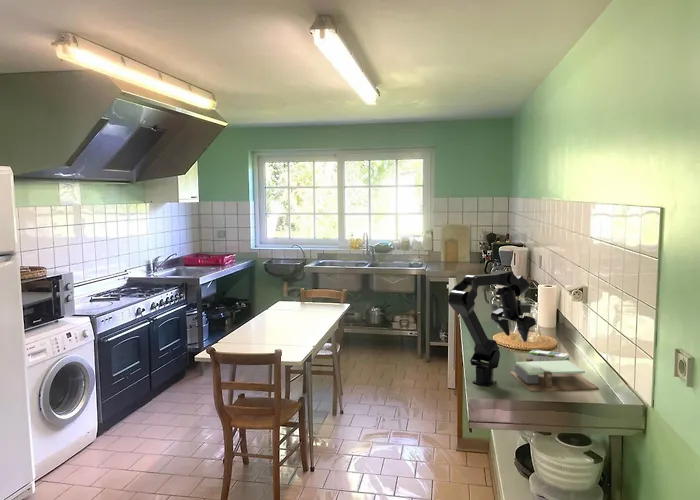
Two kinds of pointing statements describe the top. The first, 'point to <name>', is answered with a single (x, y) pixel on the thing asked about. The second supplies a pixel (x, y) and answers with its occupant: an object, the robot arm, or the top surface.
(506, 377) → the top surface
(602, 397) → the top surface
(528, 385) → the trapdoor frame
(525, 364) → the trapdoor
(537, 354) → the syrup box
